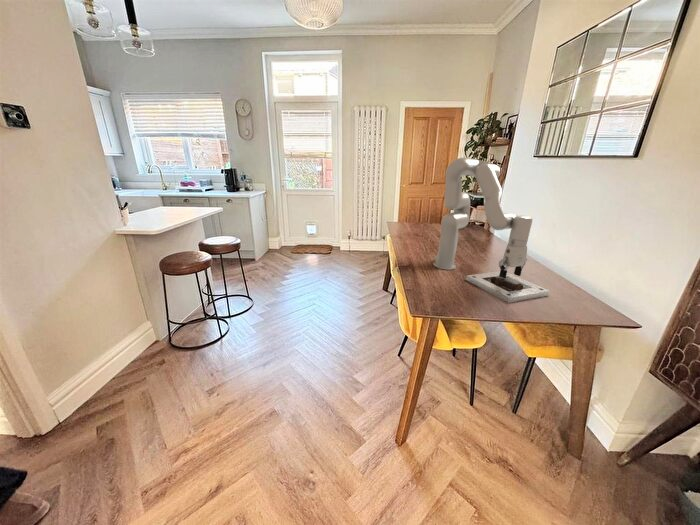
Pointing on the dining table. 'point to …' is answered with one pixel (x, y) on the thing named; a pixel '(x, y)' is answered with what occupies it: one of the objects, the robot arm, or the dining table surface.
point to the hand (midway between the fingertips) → (509, 276)
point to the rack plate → (511, 296)
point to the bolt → (506, 284)
